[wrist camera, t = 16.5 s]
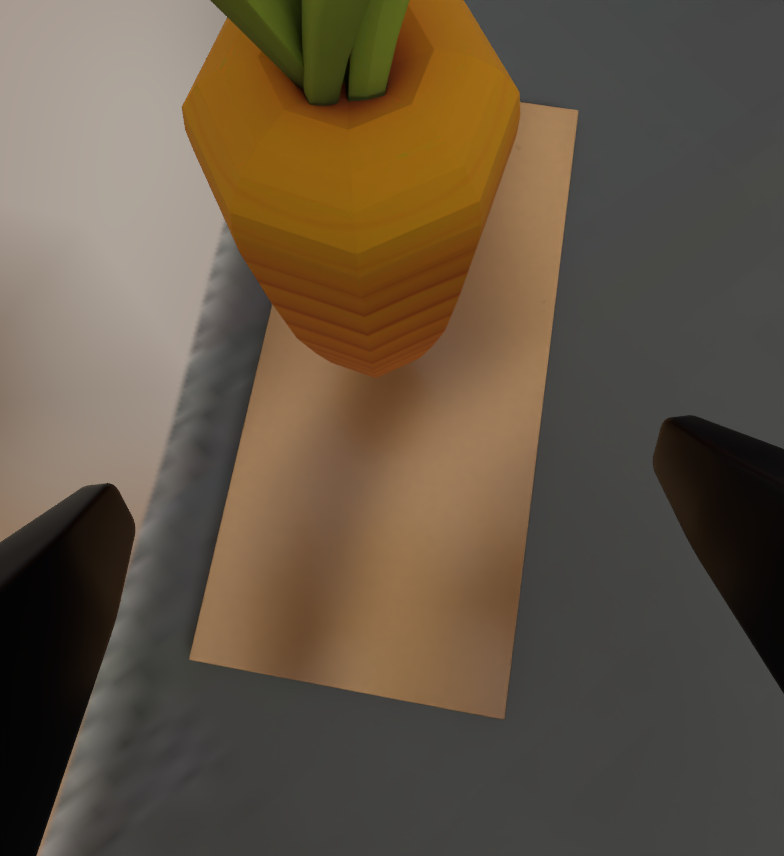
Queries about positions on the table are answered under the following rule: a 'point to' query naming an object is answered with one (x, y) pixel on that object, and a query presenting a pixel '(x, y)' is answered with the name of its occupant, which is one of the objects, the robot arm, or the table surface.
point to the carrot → (355, 163)
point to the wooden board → (401, 479)
